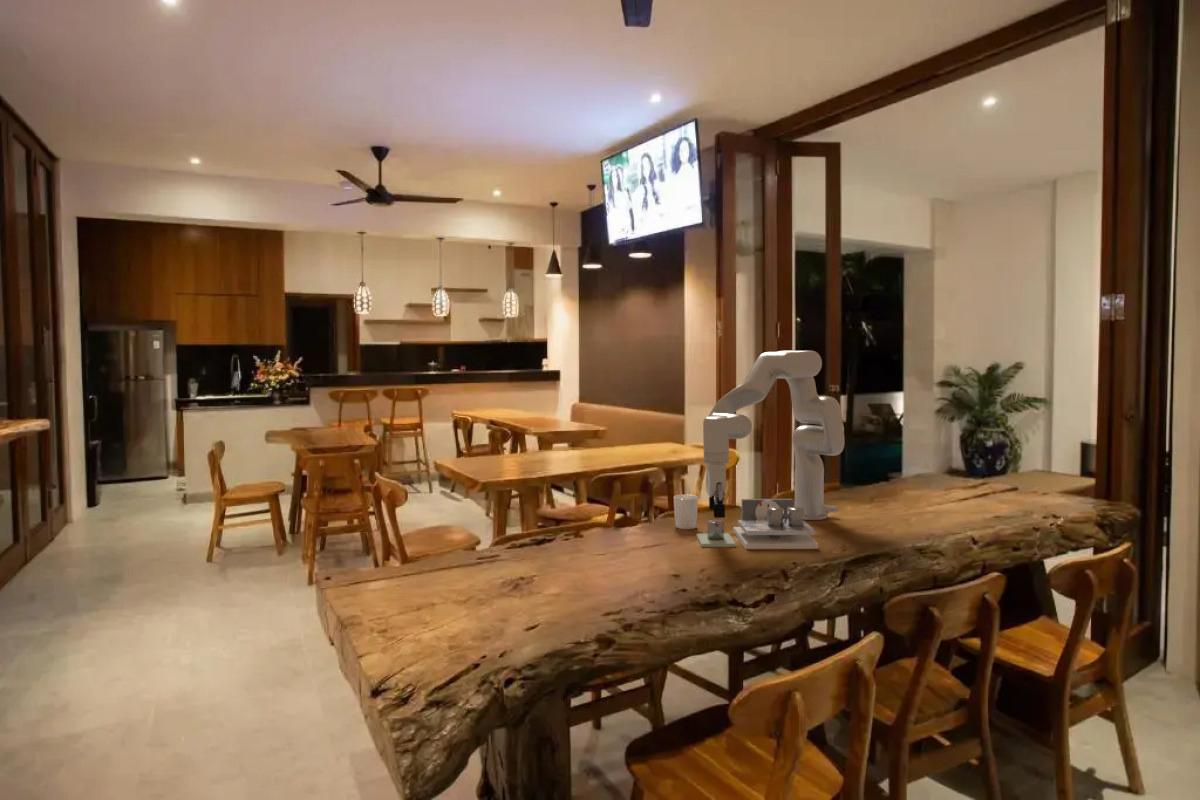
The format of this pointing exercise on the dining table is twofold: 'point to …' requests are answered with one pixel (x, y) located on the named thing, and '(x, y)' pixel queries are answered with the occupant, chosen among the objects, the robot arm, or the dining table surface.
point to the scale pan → (773, 528)
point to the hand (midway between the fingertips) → (716, 513)
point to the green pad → (713, 543)
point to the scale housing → (758, 511)
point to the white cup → (685, 511)
